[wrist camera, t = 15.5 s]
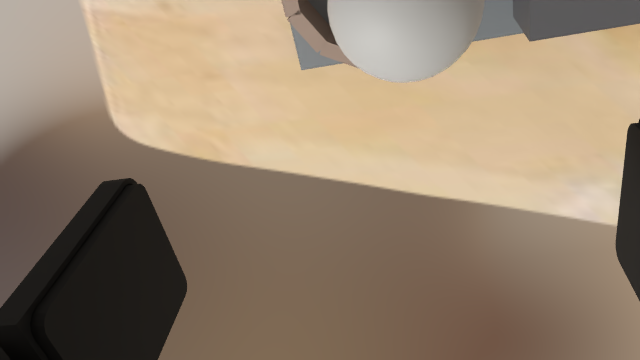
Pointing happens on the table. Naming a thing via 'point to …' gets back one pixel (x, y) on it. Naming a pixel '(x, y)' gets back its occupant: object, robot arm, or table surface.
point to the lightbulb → (404, 35)
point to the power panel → (497, 21)
